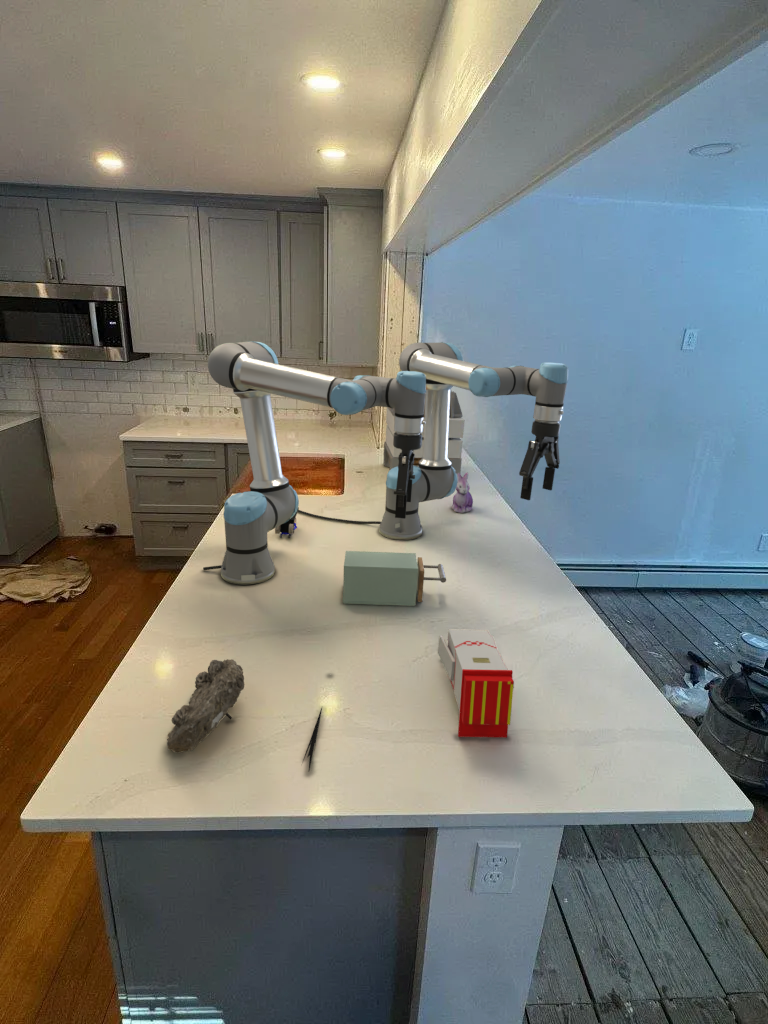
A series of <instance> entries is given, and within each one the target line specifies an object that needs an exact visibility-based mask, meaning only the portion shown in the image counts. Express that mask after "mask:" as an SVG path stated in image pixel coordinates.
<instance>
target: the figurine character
mask: <svg viewBox="0 0 768 1024" xmlns="http://www.w3.org/2000/svg"><path fill="white" fill-rule="evenodd" d="M298 510H300V508H299V506H298ZM298 510H297V512H296V514H295V515H294V516H293V517H292V518H291V519H290V520H289V521H287V522H286V523H283V524H281V525H279V526H278V527H276V528H274V533H275V534H276V535H279V538H280V539H282V538H283V535H284V536H287V539H291V537H292V535H293V534H294V533H295V530H297V529H298V526H297V514H298V513H299V512H298Z"/></svg>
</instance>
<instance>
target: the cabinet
mask: <svg viewBox="0 0 768 1024" xmlns="http://www.w3.org/2000/svg"><path fill="white" fill-rule="evenodd" d="M344 554H345V555H344V562H343V584H342V585H343V587H342V604H343V605H344V604H346V605H348V604H349V605H374V606H375V605H376V606H377V605H379V606H404V607H405V606H406V607H407V606H408V607H409V606H410V607H415V606H416V604H417V593H416V589H417V575H418V566H417V561H418V558H417V554H416V553H415V552H394V551H393V552H392V551H391V552H389V551H365V550H363V551H362V550H361V551H360V550H345V553H344Z"/></svg>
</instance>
